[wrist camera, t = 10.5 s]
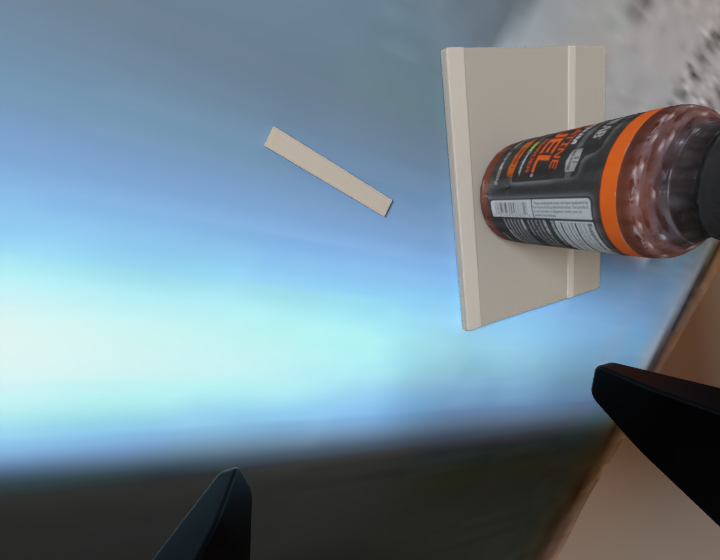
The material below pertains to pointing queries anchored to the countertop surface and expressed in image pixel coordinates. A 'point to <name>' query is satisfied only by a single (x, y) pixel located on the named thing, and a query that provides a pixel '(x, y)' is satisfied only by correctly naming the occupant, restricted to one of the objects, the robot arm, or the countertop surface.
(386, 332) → the countertop surface
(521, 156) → the supplement bottle
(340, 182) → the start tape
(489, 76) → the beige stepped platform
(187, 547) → the robot arm
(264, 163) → the countertop surface
